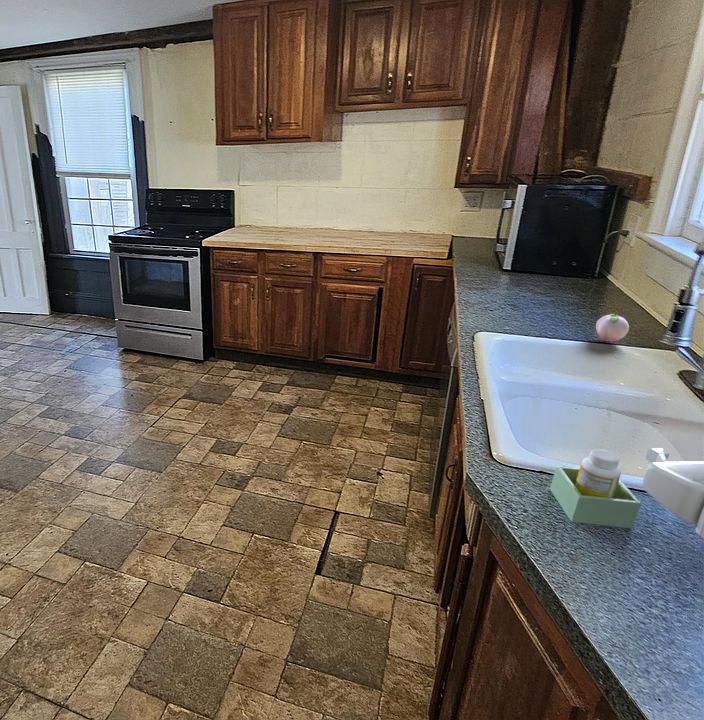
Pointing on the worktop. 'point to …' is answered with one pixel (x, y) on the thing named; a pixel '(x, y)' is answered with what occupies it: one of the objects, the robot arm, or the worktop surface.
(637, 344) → the worktop surface
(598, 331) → the decorative fruit
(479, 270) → the worktop surface
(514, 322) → the worktop surface
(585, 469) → the supplement bottle
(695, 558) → the worktop surface
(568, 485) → the bin
